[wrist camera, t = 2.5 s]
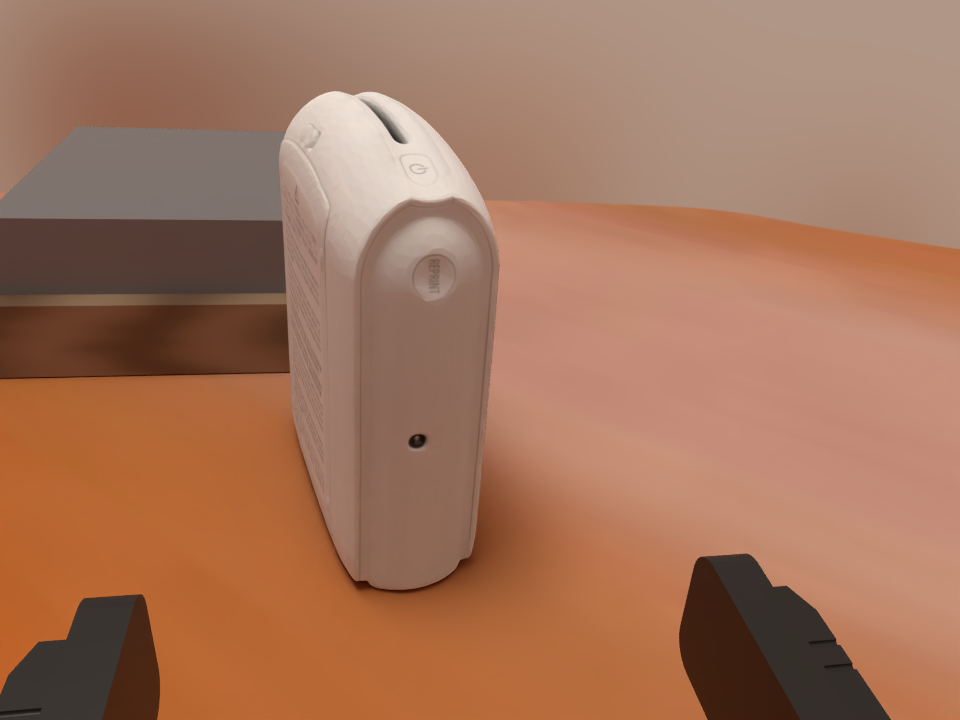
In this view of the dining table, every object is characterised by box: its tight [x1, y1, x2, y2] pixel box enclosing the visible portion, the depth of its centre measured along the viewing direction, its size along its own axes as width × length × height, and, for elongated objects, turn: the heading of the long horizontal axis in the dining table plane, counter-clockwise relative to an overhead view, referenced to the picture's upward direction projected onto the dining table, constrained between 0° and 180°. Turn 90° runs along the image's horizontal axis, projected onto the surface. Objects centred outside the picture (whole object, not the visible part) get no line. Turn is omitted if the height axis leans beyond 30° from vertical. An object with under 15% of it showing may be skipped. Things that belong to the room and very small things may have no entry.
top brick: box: [0, 127, 286, 295], centre depth 37 cm, size 13×13×3 cm
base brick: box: [0, 293, 290, 378], centre depth 38 cm, size 15×15×3 cm
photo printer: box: [279, 91, 500, 590], centre depth 24 cm, size 10×4×12 cm, turn 21°
